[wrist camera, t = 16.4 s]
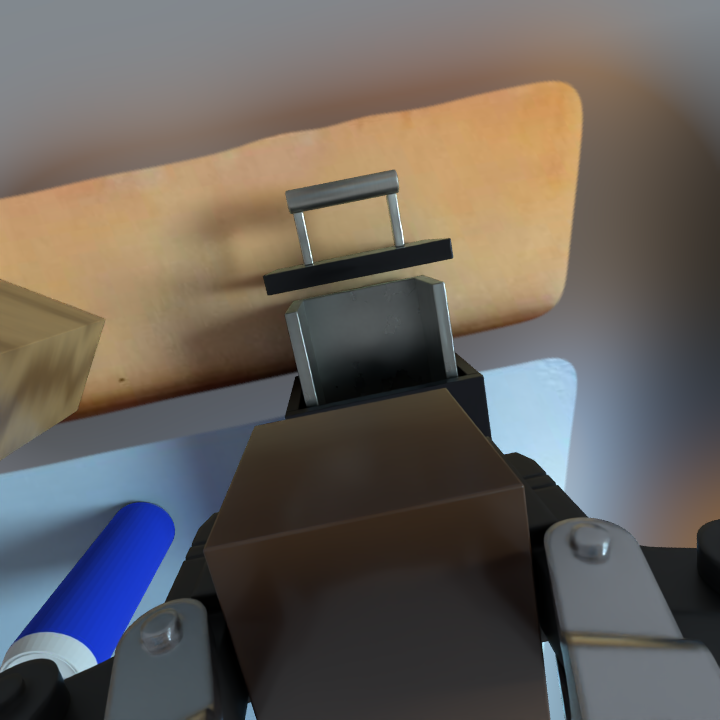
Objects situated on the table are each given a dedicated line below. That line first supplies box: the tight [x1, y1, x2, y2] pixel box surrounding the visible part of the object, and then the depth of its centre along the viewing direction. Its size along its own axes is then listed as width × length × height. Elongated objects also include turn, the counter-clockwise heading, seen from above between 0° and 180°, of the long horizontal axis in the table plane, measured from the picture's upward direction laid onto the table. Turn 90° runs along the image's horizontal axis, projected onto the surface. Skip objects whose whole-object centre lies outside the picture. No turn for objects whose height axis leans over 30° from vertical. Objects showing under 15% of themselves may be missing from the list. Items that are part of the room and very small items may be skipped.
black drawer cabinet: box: [285, 353, 492, 440], centre depth 35 cm, size 14×13×9 cm
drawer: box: [263, 170, 458, 408], centre depth 32 cm, size 17×11×7 cm, turn 11°
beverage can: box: [0, 502, 175, 680], centre depth 33 cm, size 5×5×15 cm
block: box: [203, 388, 550, 720], centre depth 9 cm, size 4×4×4 cm
